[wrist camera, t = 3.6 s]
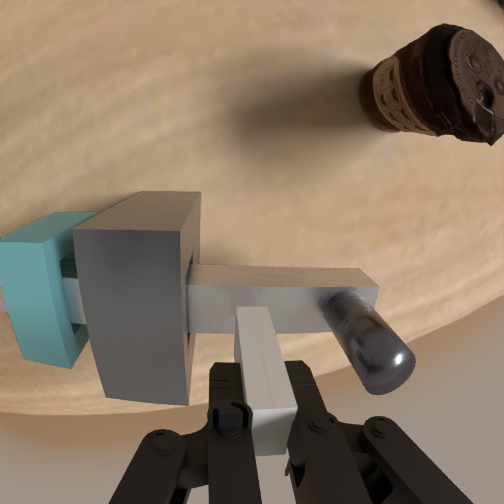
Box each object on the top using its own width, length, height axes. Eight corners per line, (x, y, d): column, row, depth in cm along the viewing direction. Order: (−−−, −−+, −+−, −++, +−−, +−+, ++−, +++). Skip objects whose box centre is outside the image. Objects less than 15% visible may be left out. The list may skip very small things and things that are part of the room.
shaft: (10, 292, 18) (-56, 354, 9) (3, 255, 17) (-74, 308, 8) (351, 307, 21) (414, 390, 12) (359, 268, 20) (435, 340, 11)
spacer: (67, 304, 22) (23, 358, 15) (54, 212, 20) (-7, 241, 12) (107, 308, 23) (71, 369, 15) (98, 211, 20) (43, 243, 13)
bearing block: (146, 299, 27) (106, 397, 15) (142, 191, 24) (72, 229, 12) (199, 301, 27) (188, 405, 15) (201, 192, 24) (180, 231, 12)
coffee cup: (377, 160, 25) (480, 176, 13) (327, 82, 22) (411, 36, 10) (434, 118, 24) (534, 117, 12) (392, 47, 21) (483, 7, 9)
